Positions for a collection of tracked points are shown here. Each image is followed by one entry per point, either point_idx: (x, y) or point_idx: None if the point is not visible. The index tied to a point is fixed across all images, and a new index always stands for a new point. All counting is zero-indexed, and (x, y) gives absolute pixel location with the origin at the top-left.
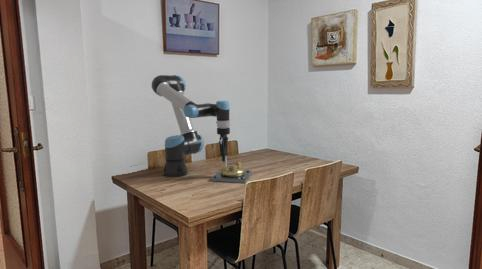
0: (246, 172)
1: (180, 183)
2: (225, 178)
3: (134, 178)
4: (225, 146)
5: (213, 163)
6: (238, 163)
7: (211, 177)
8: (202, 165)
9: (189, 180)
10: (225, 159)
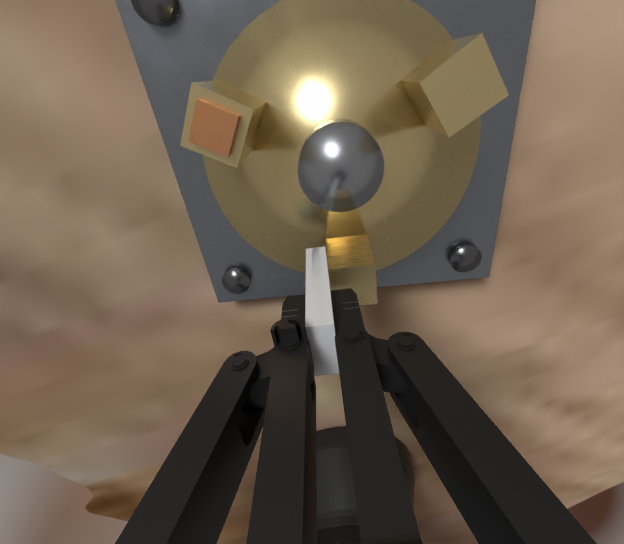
0: (204, 10)
1: (531, 390)
2: (506, 156)
3: (458, 530)
4: (306, 491)
5: (37, 402)
6: (254, 113)
7: (479, 277)
8: (123, 429)
9: (463, 376)
10: (330, 297)
